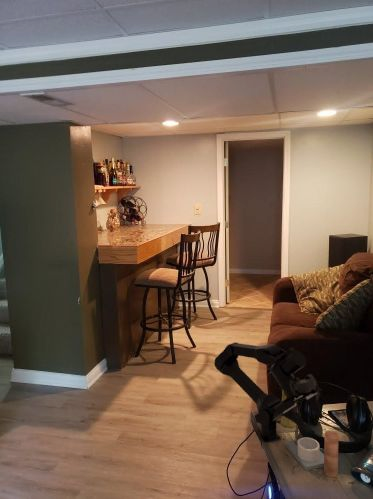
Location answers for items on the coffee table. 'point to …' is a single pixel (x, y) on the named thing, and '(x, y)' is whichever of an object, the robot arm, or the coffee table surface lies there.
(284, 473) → the coffee table surface
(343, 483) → the coffee table surface
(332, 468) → the post
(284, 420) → the vase
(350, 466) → the coffee table surface
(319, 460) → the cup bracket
